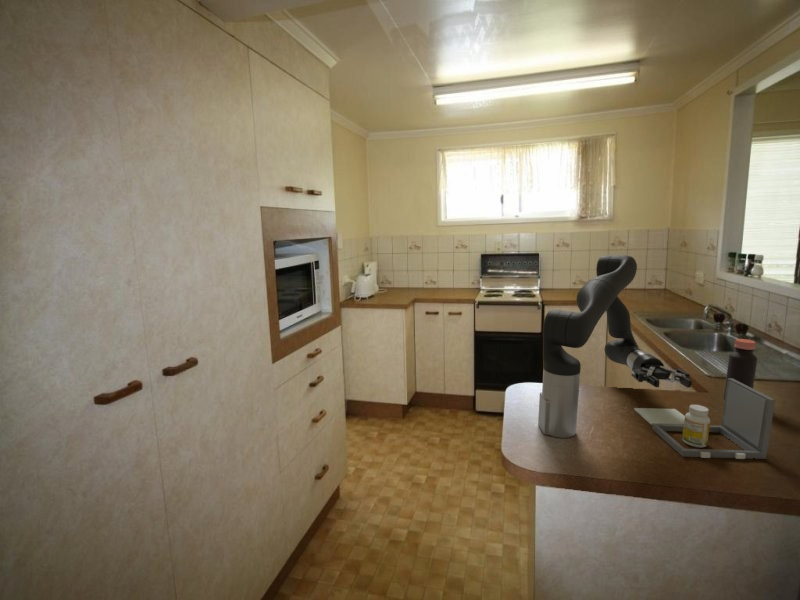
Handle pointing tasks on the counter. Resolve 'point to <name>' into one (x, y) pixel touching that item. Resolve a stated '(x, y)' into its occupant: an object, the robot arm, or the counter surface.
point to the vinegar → (742, 363)
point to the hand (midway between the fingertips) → (673, 384)
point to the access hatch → (734, 424)
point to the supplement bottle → (696, 426)
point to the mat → (661, 416)
